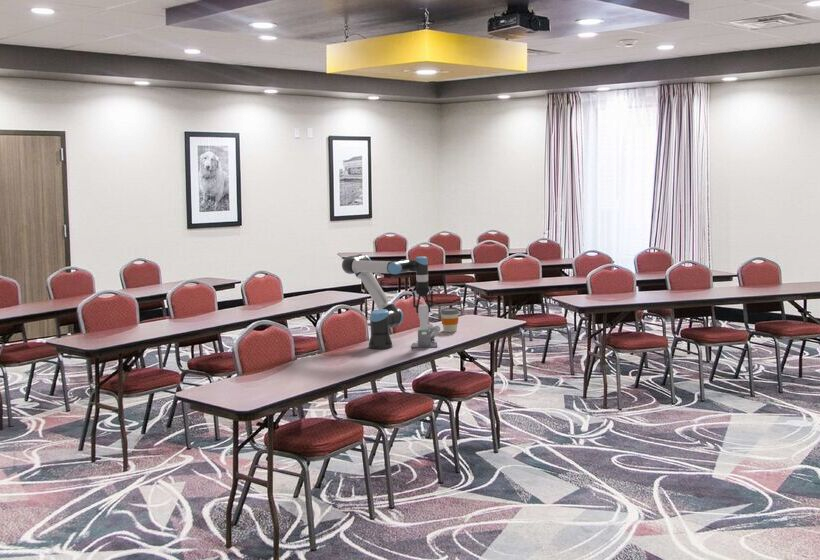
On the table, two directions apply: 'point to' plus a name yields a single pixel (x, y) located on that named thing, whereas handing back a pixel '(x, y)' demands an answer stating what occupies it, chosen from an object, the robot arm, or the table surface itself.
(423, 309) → the column
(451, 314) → the reusable coffee cup
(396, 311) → the robot arm
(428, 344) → the stand base
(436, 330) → the valve
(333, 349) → the table surface
